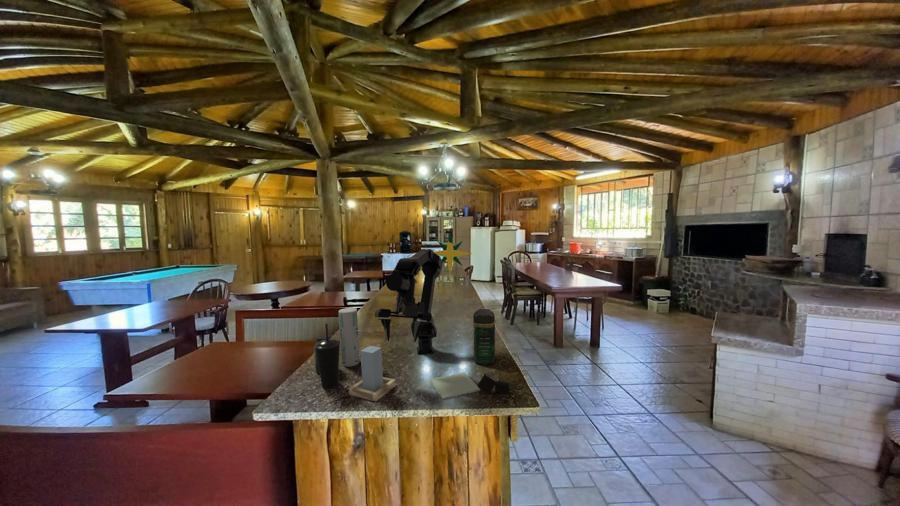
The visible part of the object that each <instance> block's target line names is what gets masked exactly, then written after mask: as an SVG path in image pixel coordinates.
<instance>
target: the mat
mask: <svg viewBox="0 0 900 506" xmlns="http://www.w3.org/2000/svg"><path fill="white" fill-rule="evenodd" d="M429 382H430V383H431V385H432V386H433V388H434V389H435V391H437V393H438V395H439V396H440V397H441V399H442V400H446V399H449V398H454V397H459V396H463V395H467V393H468V394H472V393H476V392H480V391H481V389H480V388H479V387H478V384H476V383H475V382H474V381H473V379H471V378H470V376H469V375H467V373H465V372H458V373H455V374H450V375H444V376H440V377H439V376H438V377H434V378H430V379H429ZM462 394H463V395H462ZM458 395H459V396H458Z"/></svg>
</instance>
